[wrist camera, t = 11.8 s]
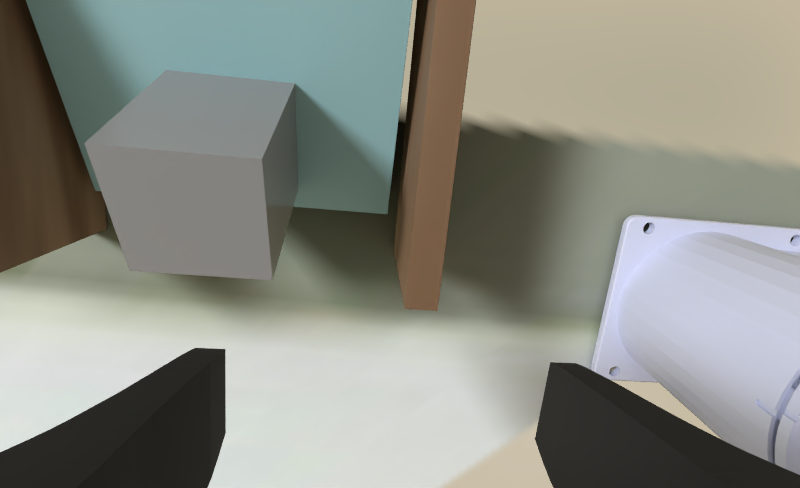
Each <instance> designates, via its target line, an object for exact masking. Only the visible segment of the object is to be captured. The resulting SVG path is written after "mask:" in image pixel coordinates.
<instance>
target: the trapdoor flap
mask: <svg viewBox="0 0 800 488" xmlns="http://www.w3.org/2000/svg"><path fill="white" fill-rule="evenodd" d="M26 2H27V5H28V8H29V11H30V13H31V16H32V19H33V22H34V24H35V27H36V30H37V33H38V35H39V38H40V41H41V43H42V46H43V49H44V52H45V54H46V57H47V60H48V63H49V65H50V68H51V71H52V74H53V76H54V79H55V82H56V85H57V87H58V90H59V93H60V95H61V98H62V101H63V104H64V106H65V109H66V112H67V115H68V117H69V120H70V123H71V126H72V128H73V131H74V134H75V137H76V139H77V142H78V145H79V147H80V150H81V153H82V156H83V158H84V161H85V164H86V167H87V169H88V172H89V175H90V178H91V180H92V183H93V186H94V189H95V191H101V189H100V186H99V183H98V181H97V178H96V175H95V172H94V169H93V167H92V164H91V161H90V158H89V155H88V153H87V150H86V147H85V144H84V143H85V142H86V141H87V140H88V139H89V138H91V137H92V136H93V135H94V134H95V133H96V132H97V131H98V130H100V129H101V128H102V127H103V126H104V125H105V124H106V123H107V122H108V121H110V120H111V119H112V118H113V117H114V116H115V115H116V114H117V113H119V112H120V111H121V110H122V109H123V108H124V107H125V106H126V105H127V104H129V103H130V102H131V101H132V100H133V99H134V98H135V97H136V96H138V95H139V94H140V93H141V92H142V91H143V90H144V89H145V88H146V87H148V86H149V85H150V84H151V83H152V82H153V81H154V80H155V79H157V78H158V77H159V76H160V75H161V74H162V73H163V72H164V71H165V70H173V71H183V72H192V73H202V74H211V75H221V76H231V77H240V78H250V79H259V80H269V81H278V82H288V83H295V95H296V126H297V158H298V192H297V195H296V199H295V202H294V206H293V207H303V208H316V209H328V210H341V211H353V212H365V213H378V214H387V212H388V204H389V195H390V187H391V178H392V170H393V161H394V153H395V144H396V136H397V127H398V119H399V110H400V102H401V93H402V85H403V76H404V67H405V59H406V51H407V42H408V34H409V25H410V17H411V8H412V0H26Z"/></svg>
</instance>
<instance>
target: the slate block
mask: <svg viewBox="0 0 800 488" xmlns="http://www.w3.org/2000/svg"><path fill="white" fill-rule="evenodd" d="M84 144H85V147H86V150H87V153H88V155H89V158H90V161H91V164H92V167H93V169H94V172H95V175H96V178H97V181H98V183H99V186H100V189H101V192H102V195H103V198H104V200H105V203H106V206H107V209H108V212H109V214H110V217H111V220H112V223H113V226H114V228H115V231H116V234H117V237H118V240H119V243H120V245H121V248H122V251H123V254H124V257H125V259H126V262H127V265H128V268H129V271H140V272H154V273H169V274H184V275H199V276H214V277H229V278H244V279H259V280H273V277H274V273H275V270H276V266H277V263H278V259H279V255H280V252H281V248H282V245H283V241H284V238H285V234H286V231H287V227H288V224H289V220H290V216H291V213H292V209H293V206H294V202H295V199H296V195H297V192H298V158H297V126H296V95H295V83H288V82H278V81H269V80H259V79H250V78H240V77H231V76H221V75H211V74H202V73H192V72H183V71H173V70H165V71H164V72H163V73H162V74H161V75H160V76H159V77H158V78H157V79H155V80H154V81H153V82H152V83H151V84H150V85H149V86H148V87H146V88H145V89H144V90H143V91H142V92H141V93H140V94H139V95H138V96H136V97H135V98H134V99H133V100H132V101H131V102H130V103H129V104H127V105H126V106H125V107H124V108H123V109H122V110H121V111H120V112H119V113H117V114H116V115H115V116H114V117H113V118H112V119H111V120H110V121H108V122H107V123H106V124H105V125H104V126H103V127H102V128H101V129H100V130H98V131H97V132H96V133H95V134H94V135H93V136H92V137H91V138H89V139H88V140H87V141H86V142H85V143H84Z"/></svg>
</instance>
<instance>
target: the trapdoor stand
mask: <svg viewBox="0 0 800 488" xmlns="http://www.w3.org/2000/svg"><path fill="white" fill-rule="evenodd" d="M475 5H476V0H417V8H416V19H415V29H414V40H413V51H412V62H411V71H410V83H409V93H408V103H407V114H406V124H405V135H404V145H403V156H402V167H401V177H400V188H399V198H398V209H397V219H396V230H395V240H394V255H395V260H396V265H397V271H398V276H399V281H400V286H401V292H402V297H403V302H404V307H405V309H417V310H433V311H437V310H438V302H439V294H440V286H441V278H442V270H443V262H444V254H445V246H446V238H447V230H448V222H449V214H450V206H451V198H452V190H453V182H454V174H455V166H456V158H457V150H458V142H459V134H460V126H461V118H462V110H463V102H464V93H465V85H466V77H467V69H468V61H469V53H470V45H471V37H472V29H473V21H474V13H475ZM106 229H107V223H106V209H105V200H104V198H103V195H102V192H101V191H95V189H94V186H93V183H92V180H91V178H90V175H89V172H88V169H87V167H86V164H85V161H84V158H83V156H82V153H81V150H80V147H79V145H78V142H77V139H76V137H75V134H74V131H73V128H72V126H71V123H70V120H69V117H68V115H67V112H66V109H65V106H64V104H63V101H62V98H61V95H60V93H59V90H58V87H57V85H56V82H55V79H54V76H53V74H52V71H51V68H50V65H49V63H48V60H47V57H46V54H45V52H44V49H43V46H42V43H41V41H40V38H39V35H38V33H37V30H36V27H35V24H34V22H33V19H32V16H31V13H30V11H29V8H28V5H27V2H26V0H0V272H3V271H5V270H8V269H10V268H12V267H15V266H17V265H20V264H22V263H25V262H27V261H30V260H32V259H35V258H37V257H39V256H42V255H44V254H47V253H49V252H52V251H54V250H57V249H59V248H62V247H64V246H66V245H69V244H71V243H74V242H76V241H79V240H81V239H84V238H86V237H88V236H91V235H93V234H96V233H98V232H101V231H103V230H106Z"/></svg>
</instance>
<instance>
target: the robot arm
mask: <svg viewBox="0 0 800 488" xmlns="http://www.w3.org/2000/svg"><path fill="white" fill-rule="evenodd" d="M646 223H649V228H648V230H647V231H645V232H644V231H643V227H644V225H645V224H646ZM793 236H794V238H793V240H792V242H790V240H791V238H792V237H793ZM615 366H616V368H615V370H613V371H612V372H609V371H610V369H611V368H612V367H615ZM611 380H620V381H621V380H622V381H640V382H659V383H660V384H661V385H662V386H663V387H664V388H666V389H667V390H668V391H669V392H670V393H671V394H672V395H673V396H674V397H676V398H677V399H678V400H679V401H680V402H681V403H682V404H683V405H684V406H686V407H687V408H688V409H689V410H690V411H691V412H692V413H693V414H694V415H695V416H697V417H698V418H699V419H700V420H701V421H702V422H703V423H704V424H706V425H707V426H708V427H709V428H710V429H711V430H712V431H713V432H714V433H716V434H717V435H718V436H719V437H720V438H721V439H722V440H721V439H719V438H717V437H715V436H713V435H711V434H709V433H707V432H705V431H703V430H701V429H699V428H697V427H695V426H693V425H691V424H689V423H688V422H686V421H684V420H682V419H680V418H678V417H676V416H674V415H672V414H671V413H669V412H667V411H665V410H663V409H661V408H659V407H657V406H656V405H654V404H652V403H651V402H649V401H647V400H645V399H643V398H641V397H640V396H638V395H636V394H634V393H633V392H631V391H629V390H627V389H625V388H624V387H622V386H620V385H618V384H616V383H615V382H613V381H611ZM224 436H225V349H207V348H194V349H192V350H190V351H188V352H186V353H185V354H183V355H181V356H179V357H178V358H176V359H174V360H173V361H171V362H169V363H168V364H166V365H164V366H163V367H161V368H159V369H158V370H156V371H154V372H153V373H151V374H149V375H148V376H146V377H144V378H143V379H141V380H139V381H138V382H136V383H134V384H133V385H131V386H129V387H128V388H126V389H124V390H122V391H121V392H119V393H117V394H116V395H114V396H112V397H110V398H108V399H106V400H105V401H103V402H101V403H99V404H97V405H95V406H93V407H92V408H90V409H88V410H86V411H84V412H82V413H81V414H79V415H77V416H75V417H73V418H71V419H70V420H68V421H66V422H64V423H62V424H60V425H58V426H56V427H54V428H52V429H50V430H48V431H46V432H44V433H42V434H40V435H38V436H35V437H33V438H31V439H29V440H27V441H25V442H22V443H20V444H18V445H16V446H14V447H11V448H9V449H7V450H5V451H3V452H0V488H207V487H208V485H209V482H210V480H211V478H212V475H213V471H214V468H215V465H216V462H217V459H218V456H219V453H220V449H221V446H222V443H223V439H224ZM535 440H536V443H537V446H538V449H539V452H540V454H541V458H542V460H543V463H544V466H545V468H546V471H547V474H548V476H549V479H550V481H551V483H552V485H553V487H554V488H800V228H788V227H776V226H764V225H753V224H741V223H729V222H717V221H705V220H693V219H682V218H670V217H658V216H646V215H631V216H629V217H628V218H627V219H626V220H625V221H624V223H623V227H622V231H621V235H620V240H619V244H618V249H617V253H616V258H615V262H614V267H613V271H612V276H611V280H610V285H609V289H608V293H607V298H606V302H605V307H604V311H603V316H602V320H601V325H600V329H599V334H598V338H597V343H596V347H595V351H594V356H593V360H592V365H591V370H590V369H588V368H586V367H583V366H581V365H578V364H576V363H552V362H550V367H549V372H548V377H547V382H546V387H545V392H544V397H543V402H542V407H541V412H540V417H539V422H538V427H537V432H536V437H535Z"/></svg>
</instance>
